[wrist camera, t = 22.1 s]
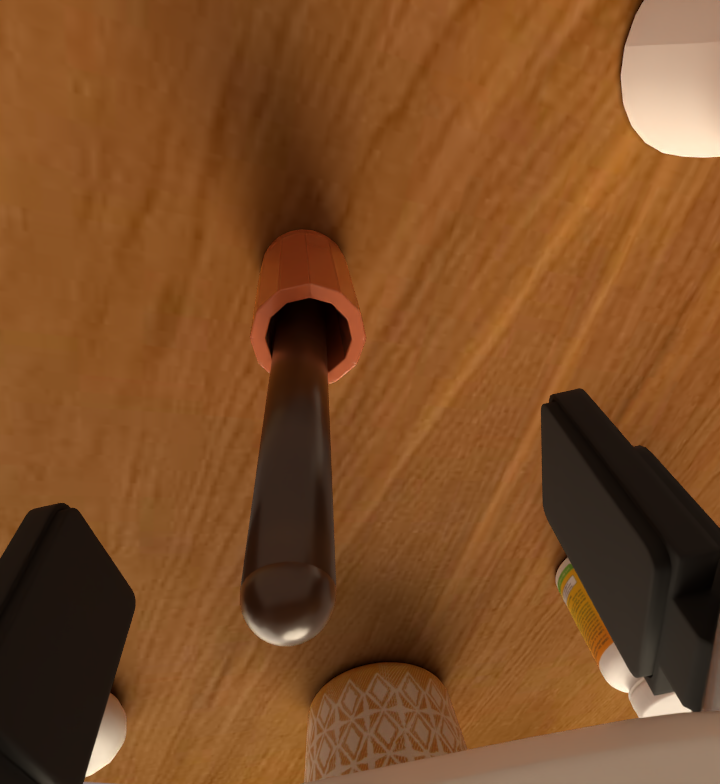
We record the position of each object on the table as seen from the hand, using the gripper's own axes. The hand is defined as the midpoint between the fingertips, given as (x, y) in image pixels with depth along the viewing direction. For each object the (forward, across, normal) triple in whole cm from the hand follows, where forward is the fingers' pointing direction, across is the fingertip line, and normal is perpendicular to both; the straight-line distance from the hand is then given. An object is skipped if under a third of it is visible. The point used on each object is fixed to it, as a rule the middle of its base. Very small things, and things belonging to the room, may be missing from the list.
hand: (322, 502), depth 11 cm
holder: (+15, 0, 0) cm, 15 cm away
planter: (+15, +3, +35) cm, 39 cm away
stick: (+15, 0, +1) cm, 15 cm away
